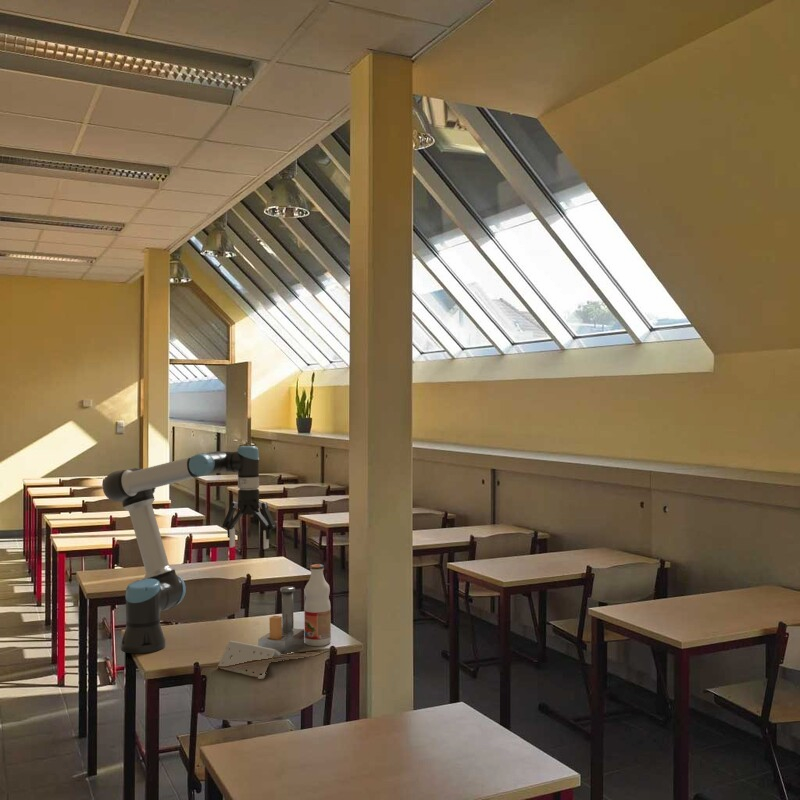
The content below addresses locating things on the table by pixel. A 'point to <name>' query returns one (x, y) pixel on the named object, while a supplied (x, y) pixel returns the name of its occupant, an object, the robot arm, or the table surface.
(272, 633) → the tan wooden beam
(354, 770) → the table surface
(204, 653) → the table surface
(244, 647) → the bracket
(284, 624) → the grey post stand
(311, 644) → the fruit juice
